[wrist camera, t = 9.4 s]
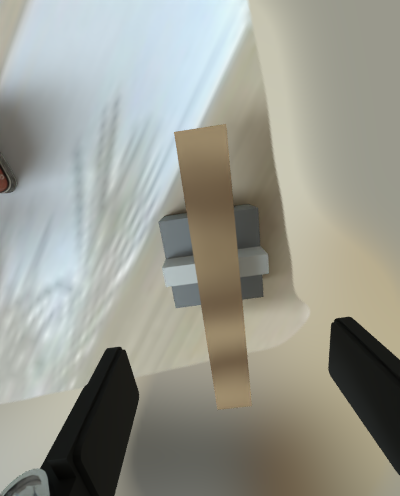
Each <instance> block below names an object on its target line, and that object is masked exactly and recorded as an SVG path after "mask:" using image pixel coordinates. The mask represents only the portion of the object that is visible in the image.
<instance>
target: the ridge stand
mask: <svg viewBox="0 0 400 496" xmlns="http://www.w3.org/2000/svg"><path fill="white" fill-rule="evenodd" d="M234 216H235V227H236V238H237V249H238V260H239V271H240V282H241V293H242V300H243V299H250V298H258V297H263V281H262V274H269V264H268V253H267V252H266V251H265V250H264V249H263V248H262V247H261V246H260V231H259V214H258V208H257V207H255V206H252V205H250V204H246V205H239V206H234ZM159 227H160V232H161V237H162V242H163V247H164V252H165V257H166V260H165V263H164V265H163V267H162V270H163V275H164V279H165V284H166V287H171V286H172V291H173V296H174V301H175V306H176V308H180V307H188V306H196V305H201V301H200V294H199V288H198V281H197V275H196V269H195V262H194V256H193V250H192V243H191V237H190V230H189V224H188V218H187V213H183V214H176V215H169V216H164V217H163V218H162V219H161V220H160V221H159Z"/></svg>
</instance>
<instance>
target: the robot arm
mask: <svg viewBox="0 0 400 496" xmlns="http://www.w3.org/2000/svg"><path fill="white" fill-rule="evenodd" d="M328 368H329V373H330V375H331V377H332V379H333V380H334V381H335V383H336V385H337V386H338V387H339V389H340V390H341V392H342V393H343V395H344V396H345V398H346V399H347V401H348V402H349V403H350V404H351V406H352V408H353V409H354V411H355V412H356V414H357V415H358V416H359V418H360V419H361V421H362V422H363V424H364V425H365V427H366V428H367V430H368V431H369V432H370V434H371V435H372V437H373V438H374V440H375V441H376V443H377V444H378V446H379V447H380V448H381V450H382V451H383V452H384V454H385V456H386V457H387V459H388V460H389V462H390V463H391V464H392V466H393V467H394V469H395V470H396V471H397V473H398V474H399V475H400V360H399V359H398V358H397V357H396V356H395V355H393V354H392V353H391V352H390V351H389V350H388V349H387V348H386V347H385V346H383V345H382V344H381V343H380V342H379V341H377V339H376V338H374V337H373V336H372V335H371V334H370V333H369V332H368V331H366V330H365V329H364V328H363V327H362V326H361V325H360V324H359V323H357V322H356V321H355V320H354V319H353V318H351V317H344V318H337V319H335V320H334V322H333V323H332V324H331V336H330V351H329V367H328ZM138 400H139V391H138V388H137V385H136V382H135V379H134V375H133V372H132V369H131V366H130V363H129V360H128V356H127V353H126V351H125V350H122V348H121V347H114V348H107V349H106V350H105V352H104V354H103V356H102V358H101V360H100V362H99V364H98V365H97V367H96V369H95V371H94V373H93V375H92V377H91V379H90V381H89V382H88V384H87V385H86V386H85V387H84V388H83V390H82V392H81V394H80V396H79V397H78V399H77V401H76V403H75V405H74V407H73V409H72V411H71V412H70V414H69V416H68V418H67V420H66V422H65V424H64V426H63V427H62V429H61V431H60V433H59V434H58V436H57V438H56V440H55V442H54V444H53V446H52V448H51V449H50V451H49V453H48V455H47V457H46V459H45V461H44V462H43V464H42V466H41V468H40V469H32V470H29V471H27V472H25V473H23V474H22V475H20V476H19V477H17V478H16V479H15V480H14V481H12V482H11V483H10V484H9V485H8V486H7V487H6V488H5V489H4V490H3V492H2V493H1V494H0V496H114V495H115V490H116V487H117V483H118V479H119V475H120V472H121V467H122V463H123V460H124V456H125V452H126V448H127V444H128V440H129V436H130V432H131V429H132V425H133V421H134V417H135V413H136V409H137V405H138Z"/></svg>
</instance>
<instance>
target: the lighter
mask: <svg viewBox="0 0 400 496" xmlns="http://www.w3.org/2000/svg"><path fill="white" fill-rule="evenodd" d="M16 186H17V182H16V179H15V177H14V175H13V173H12V171H11V169H10V167H9V165H8V164H7V162H6V160H5V159H4V157H3V156H2V154H1V153H0V193H10V192H13V191H14V190H15V188H16Z"/></svg>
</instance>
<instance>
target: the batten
mask: <svg viewBox="0 0 400 496" xmlns="http://www.w3.org/2000/svg"><path fill="white" fill-rule="evenodd" d="M174 135H175V141H176V148H177V154H178V160H179V167H180V173H181V179H182V186H183V192H184V199H185V205H186V211H187V218H188V224H189V230H190V237H191V243H192V250H193V256H194V262H195V269H196V275H197V281H198V288H199V294H200V301H201V307H202V313H203V320H204V326H205V332H206V339H207V345H208V352H209V358H210V364H211V370H212V377H213V384H214V390H215V396H216V403H217V409H218V410H220V409H229V408H238V407H246V406H252V403H251V392H250V381H249V370H248V360H247V348H246V337H245V326H244V315H243V304H242V293H241V282H240V271H239V260H238V249H237V238H236V227H235V216H234V205H233V194H232V183H231V172H230V161H229V150H228V139H227V128H226V124H223V125H217V126H210V127H204V128H197V129H191V130H184V131H178V132H174Z"/></svg>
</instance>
